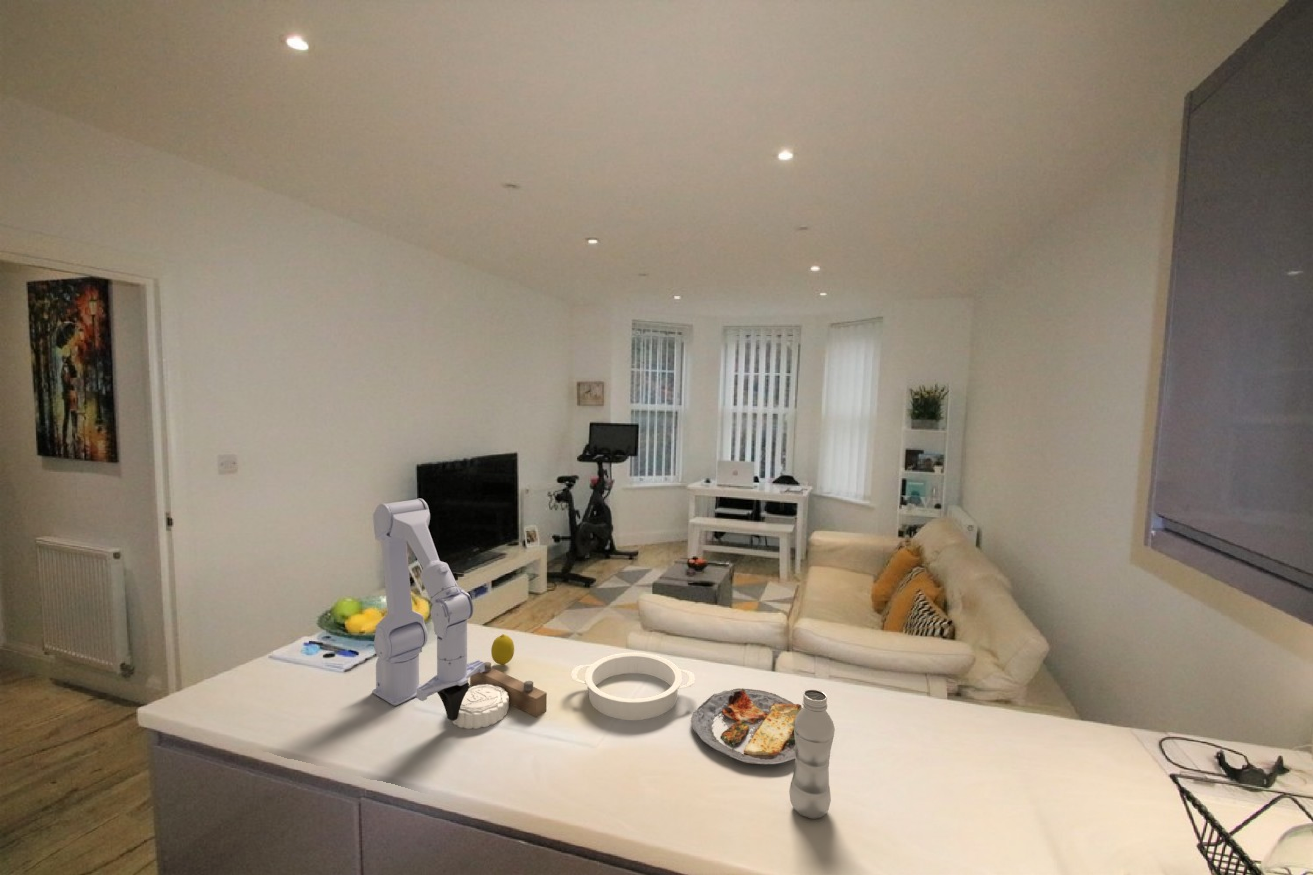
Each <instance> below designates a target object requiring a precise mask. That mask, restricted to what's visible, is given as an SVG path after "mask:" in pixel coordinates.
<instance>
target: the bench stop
mask: <svg viewBox="0 0 1313 875" xmlns="http://www.w3.org/2000/svg"><path fill="white" fill-rule="evenodd" d="M484 662H485V671H484V672H482V673H480V672H478V673H476V674H474V675H471V676H470V677H469V686H470V685H471V687H473V686H477V685H486V684H488V685H493V686H499V687H501V688H503V689H505V691H506V692H508V697H509V705H511V706H513V707H514V708H515V707H516V708H517V709H519V710H521V711H524V712H525V713H528V714H529V715H531V716H533V717H535V718H537V717H538V716H540V715H542V714H544V713H545V712H546V711H547V706H548V705H547V697H548V694H547V692H546V691H543V690H541V689H539V688H538V687H535V686H534V681H532V680H526V681H522V680H519V679H518V678H516V677H513V676H512V675H508V674H506V673H504V672H502V671H500V670H498V669H495V668H493V667H492V662H490V661H487V662H486V661H484Z"/></svg>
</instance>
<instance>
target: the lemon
mask: <svg viewBox="0 0 1313 875" xmlns="http://www.w3.org/2000/svg"><path fill="white" fill-rule="evenodd" d="M490 650H491V658H492V660H493V662H495V664H498V665H500V666H502V667H503V666H505V665H506V664H508V663H509V662H511V660H512V658H514V654H515V645H514V641H513V639H512V638H511V637H510V636H508V635H506V634H501V635H499V636H497V637H496V638H495V639H494V640H493V642H492V645H491V649H490Z"/></svg>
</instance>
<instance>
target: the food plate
mask: <svg viewBox="0 0 1313 875" xmlns="http://www.w3.org/2000/svg"><path fill="white" fill-rule="evenodd" d="M802 708H803V706H802V705H801V704H799V703H793V702H792V701H790V700H788V699H787V698H784V697H782V696H780V695H777V694H775V693H773V692H769V691H766V690H760V689H753V688H751V689H750V688H744V687H743V688H733V689H730V690H723V691H721V692H718V693H714V694H712V695H711V696H710V697H708V699H706V700H705V701H704V702H703V703H702V704H700V705H699V706H698V708H697V709H696V710H694V711H693V712H692V714H691V718H690V723H691V728H692V729H693V730H694V732H695V733H697V735H698V736H699V737H700V739H701V741H703V742H704V743H705V744H707V745H708V746H709V747H710V748H712V749H714V750H716V751H718V752H720V753H721V754H724V755H725V756H726V757H731V758H733V759H736V760H738V761H740V762H743V763H747V764H757V765H759V764H760V765H777V764H782V763H786V762H789V761H792V760H795V736H794V720H795V717H796V715H797V714H798V712H799V711H800V710H801V709H802ZM715 718H716V719H715ZM717 718H718V719H721V718H722V719H721V720H722V721H721V723H722V724H723V723H724V722H725V723H724V724H723V727H726V726H727V727H726V730H724V731H723V732H722V733H721V734H720V739H722V740H723V741H724V744H722V743H721V742H720V741H719V740H718V739H717V737H716V736H715V735H714V731H713V730H714V728H715V726H713V725H714V724H715V722H716V721H718V719H717ZM758 721H759V722H758ZM748 735H750V736H749V737H750V739H749V740H748V742H747V744H746V746H745V748H744V750H743V753H742V752H740V751H737V750H735V749H733V748H730V747H728V746H732V747H734V748H735V747H736V746H737V745H739V744H740V743H741V742H742V740H743V739H744V738H745V737H746V736H748ZM725 744H726V745H725ZM727 745H728V746H727Z"/></svg>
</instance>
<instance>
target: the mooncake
mask: <svg viewBox="0 0 1313 875" xmlns="http://www.w3.org/2000/svg"><path fill="white" fill-rule="evenodd" d="M509 706H510V704H509V697H508V692H506V691H505V689H503V688H501V687H499V686H493V685H488V684H486V685H477V686H471V687H469V689H468V691H467V692H466V694H465V696H464V698H463V701H462V703H461V706H460V710H459V713H458V717H457V719H456V720H455V721H452V720H450V721H452V724H453V725H455V726H457V727H459V728H461V729H462V728H464V729H465V730H470V729H474V730H478V729H480V728H487V727H490V726H491V725H496V724H497V723H498V722H500V721H501V720H503V718H504V717H506V715H507V714H508V711H509V709H510V708H509Z"/></svg>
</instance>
